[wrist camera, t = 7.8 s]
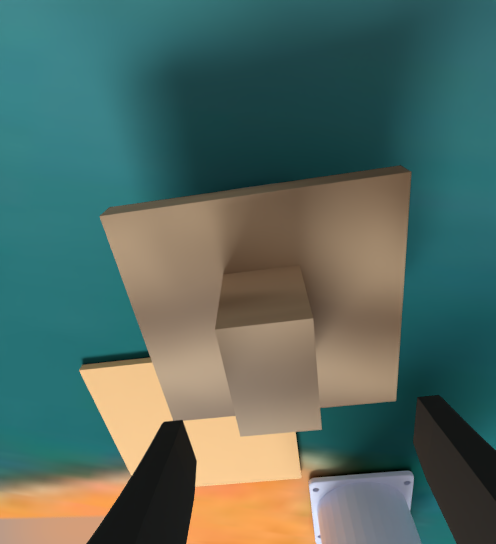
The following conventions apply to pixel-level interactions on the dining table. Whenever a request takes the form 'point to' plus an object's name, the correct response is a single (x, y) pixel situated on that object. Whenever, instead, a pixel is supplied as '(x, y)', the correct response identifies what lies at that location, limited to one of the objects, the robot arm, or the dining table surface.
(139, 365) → the mat
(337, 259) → the lid
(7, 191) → the dining table surface
